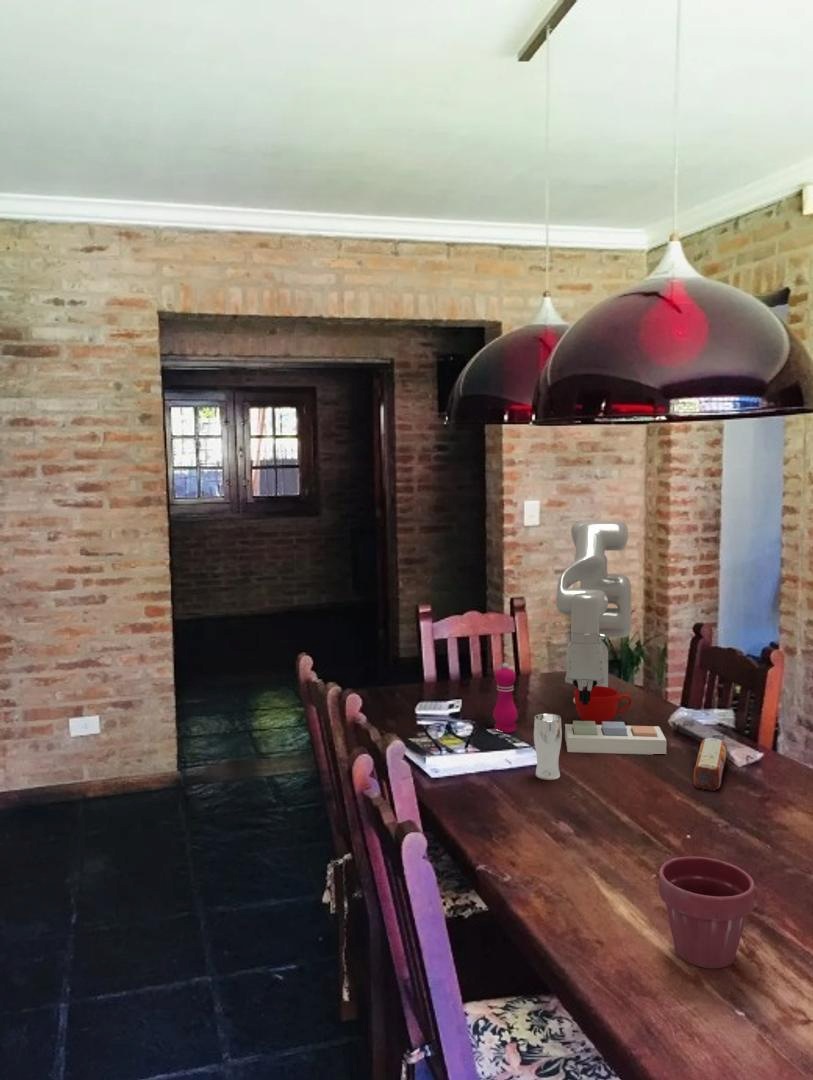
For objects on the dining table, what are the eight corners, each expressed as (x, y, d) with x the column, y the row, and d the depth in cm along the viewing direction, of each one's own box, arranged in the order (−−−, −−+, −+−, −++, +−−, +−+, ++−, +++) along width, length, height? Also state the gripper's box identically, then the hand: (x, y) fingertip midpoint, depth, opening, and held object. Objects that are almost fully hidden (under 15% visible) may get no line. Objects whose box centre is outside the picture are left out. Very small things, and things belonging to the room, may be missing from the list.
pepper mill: (509, 735, 243) (509, 667, 241) (488, 730, 247) (488, 664, 246) (522, 728, 249) (522, 662, 247) (501, 724, 253) (500, 659, 251)
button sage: (572, 729, 236) (572, 720, 236) (594, 729, 236) (594, 721, 235) (574, 736, 230) (574, 727, 230) (596, 736, 230) (596, 727, 229)
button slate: (601, 730, 235) (602, 721, 235) (623, 730, 235) (623, 721, 234) (604, 736, 229) (604, 728, 229) (626, 737, 229) (626, 728, 228)
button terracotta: (631, 734, 234) (631, 725, 234) (653, 735, 234) (653, 726, 233) (634, 741, 228) (634, 732, 228) (656, 742, 228) (656, 733, 227)
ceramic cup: (636, 730, 246) (637, 697, 245) (578, 731, 246) (578, 697, 245) (626, 717, 258) (626, 685, 258) (570, 717, 259) (571, 686, 258)
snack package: (720, 793, 199) (721, 765, 198) (691, 789, 202) (691, 762, 201) (727, 763, 218) (727, 738, 217) (700, 760, 221) (700, 735, 220)
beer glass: (529, 778, 210) (529, 719, 208) (539, 768, 216) (538, 711, 214) (556, 782, 206) (556, 723, 205) (565, 773, 213) (565, 715, 211)
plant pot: (723, 924, 142) (724, 851, 141) (771, 973, 128) (773, 893, 127) (643, 932, 140) (644, 858, 139) (683, 983, 126) (685, 902, 125)
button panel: (565, 737, 240) (565, 724, 240) (658, 740, 237) (658, 726, 236) (567, 752, 228) (567, 737, 228) (666, 754, 225) (666, 740, 224)
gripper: (611, 636, 233) (610, 700, 235) (556, 635, 235) (556, 699, 237) (614, 641, 226) (613, 708, 227) (558, 640, 228) (557, 706, 229)
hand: (584, 703), depth 232 cm, fingers closed
